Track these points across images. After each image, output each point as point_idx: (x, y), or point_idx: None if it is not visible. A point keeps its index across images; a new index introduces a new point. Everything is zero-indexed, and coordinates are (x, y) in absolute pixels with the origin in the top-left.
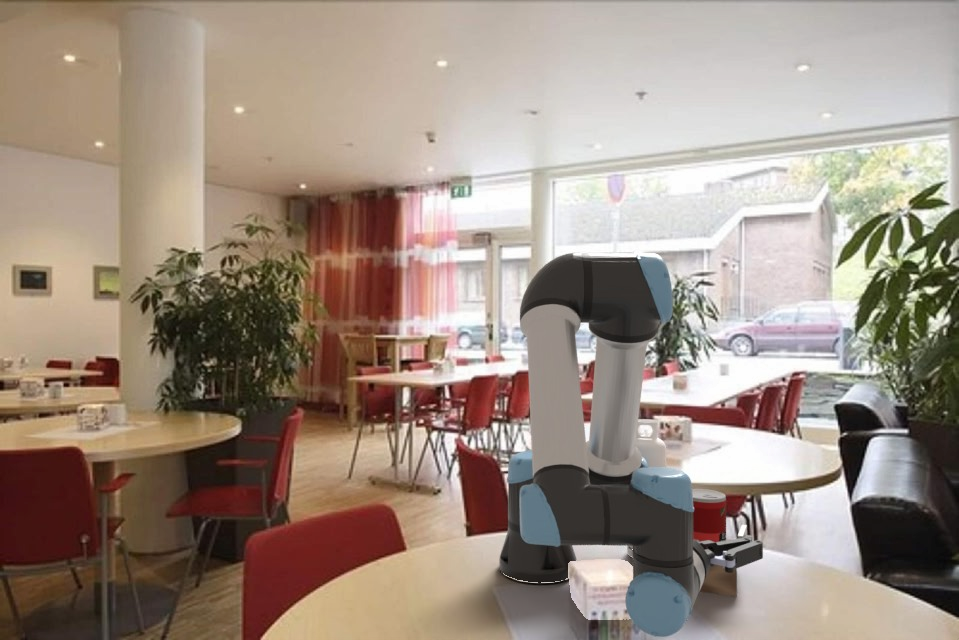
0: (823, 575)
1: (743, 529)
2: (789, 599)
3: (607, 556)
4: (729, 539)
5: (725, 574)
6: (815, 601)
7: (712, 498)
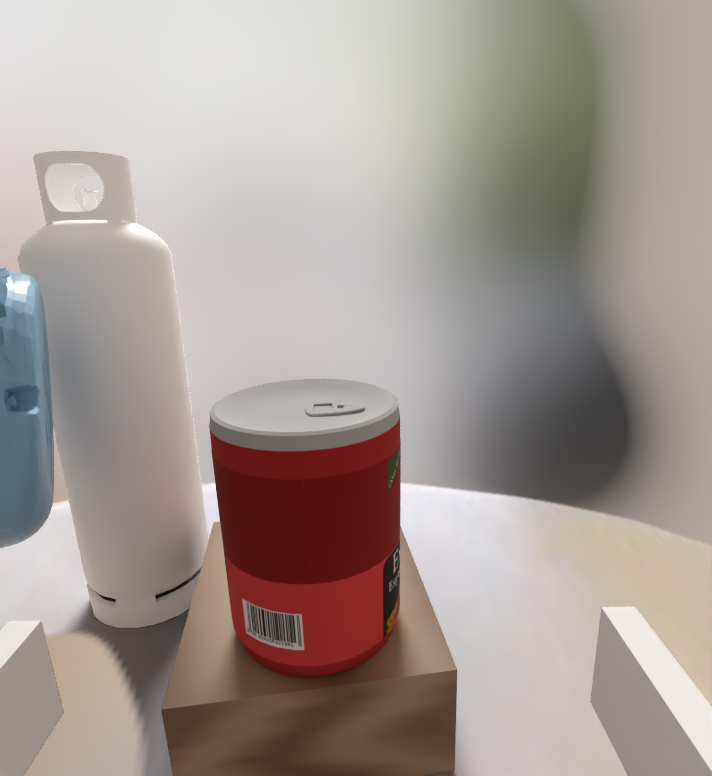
0: (588, 541)
1: (703, 716)
2: None
3: None
4: None
5: (413, 714)
6: None
7: (347, 418)
